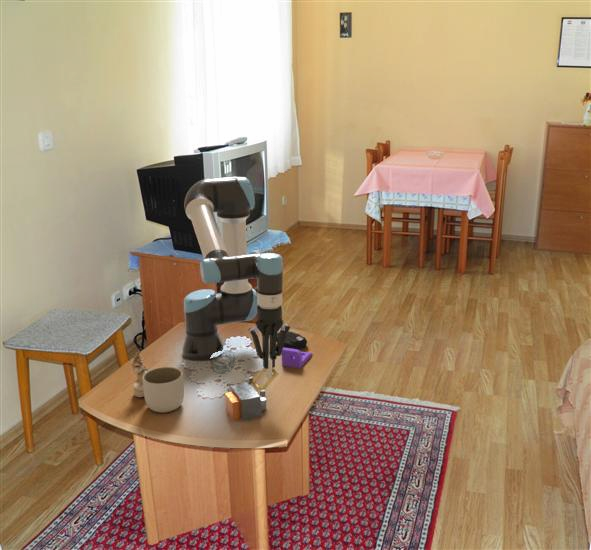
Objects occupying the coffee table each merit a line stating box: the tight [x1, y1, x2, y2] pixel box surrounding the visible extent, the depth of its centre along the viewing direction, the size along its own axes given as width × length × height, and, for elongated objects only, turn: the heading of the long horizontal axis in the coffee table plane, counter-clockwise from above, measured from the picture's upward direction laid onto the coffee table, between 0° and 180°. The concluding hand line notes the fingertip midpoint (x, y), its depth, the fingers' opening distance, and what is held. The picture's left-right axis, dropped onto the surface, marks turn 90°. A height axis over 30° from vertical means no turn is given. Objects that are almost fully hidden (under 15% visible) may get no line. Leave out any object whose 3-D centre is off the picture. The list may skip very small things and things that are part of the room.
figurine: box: [130, 352, 149, 398], centre depth 213 cm, size 7×7×15 cm
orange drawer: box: [224, 391, 267, 421], centre depth 202 cm, size 11×7×6 cm, turn 114°
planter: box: [142, 366, 185, 414], centre depth 205 cm, size 12×12×11 cm
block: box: [230, 376, 266, 422], centre depth 202 cm, size 11×8×8 cm
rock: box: [276, 330, 308, 350], centre depth 247 cm, size 10×9×6 cm
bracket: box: [281, 347, 313, 369], centre depth 236 cm, size 12×7×7 cm, turn 157°
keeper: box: [251, 367, 280, 393], centre depth 202 cm, size 8×1×8 cm
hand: (268, 377), depth 203 cm, fingers closed
